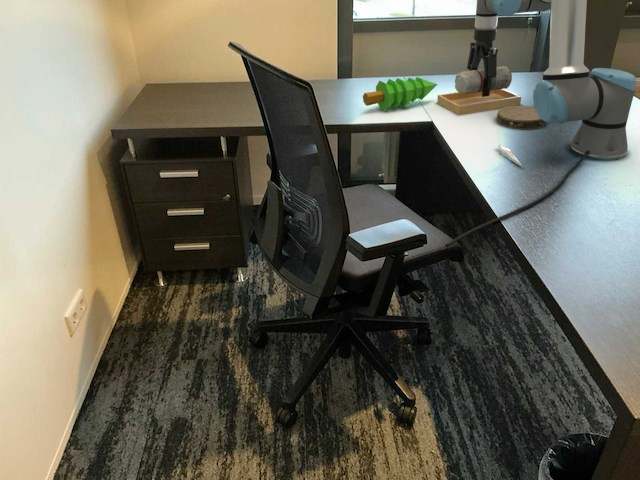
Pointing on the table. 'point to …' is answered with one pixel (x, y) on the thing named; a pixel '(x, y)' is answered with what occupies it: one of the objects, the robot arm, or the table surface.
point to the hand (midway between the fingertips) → (479, 92)
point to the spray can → (474, 80)
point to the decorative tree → (398, 92)
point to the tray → (478, 101)
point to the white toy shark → (508, 154)
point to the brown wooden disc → (519, 117)
